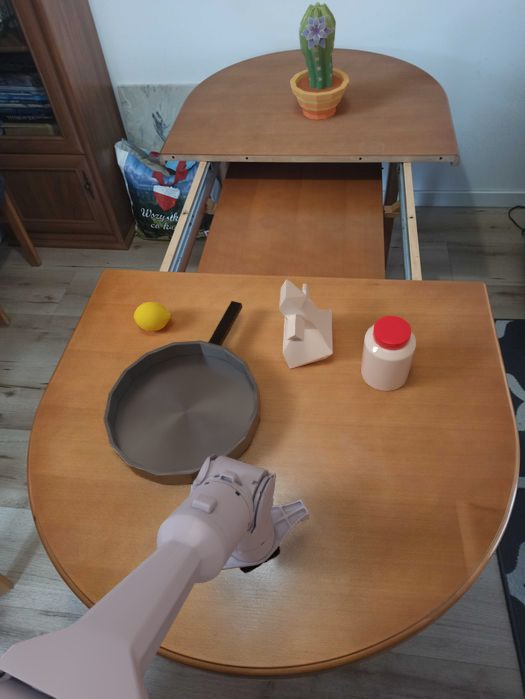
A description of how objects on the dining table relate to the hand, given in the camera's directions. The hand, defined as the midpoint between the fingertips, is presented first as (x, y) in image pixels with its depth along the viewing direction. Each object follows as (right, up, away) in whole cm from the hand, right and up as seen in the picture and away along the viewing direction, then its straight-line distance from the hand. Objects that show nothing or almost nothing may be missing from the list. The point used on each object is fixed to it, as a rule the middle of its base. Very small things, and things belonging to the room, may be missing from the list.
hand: (257, 557), depth 64 cm
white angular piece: (+9, +28, +23) cm, 37 cm away
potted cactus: (+16, +91, +70) cm, 116 cm away
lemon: (-19, +31, +28) cm, 46 cm away
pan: (-10, +20, +19) cm, 29 cm away
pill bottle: (+21, +23, +18) cm, 36 cm away
